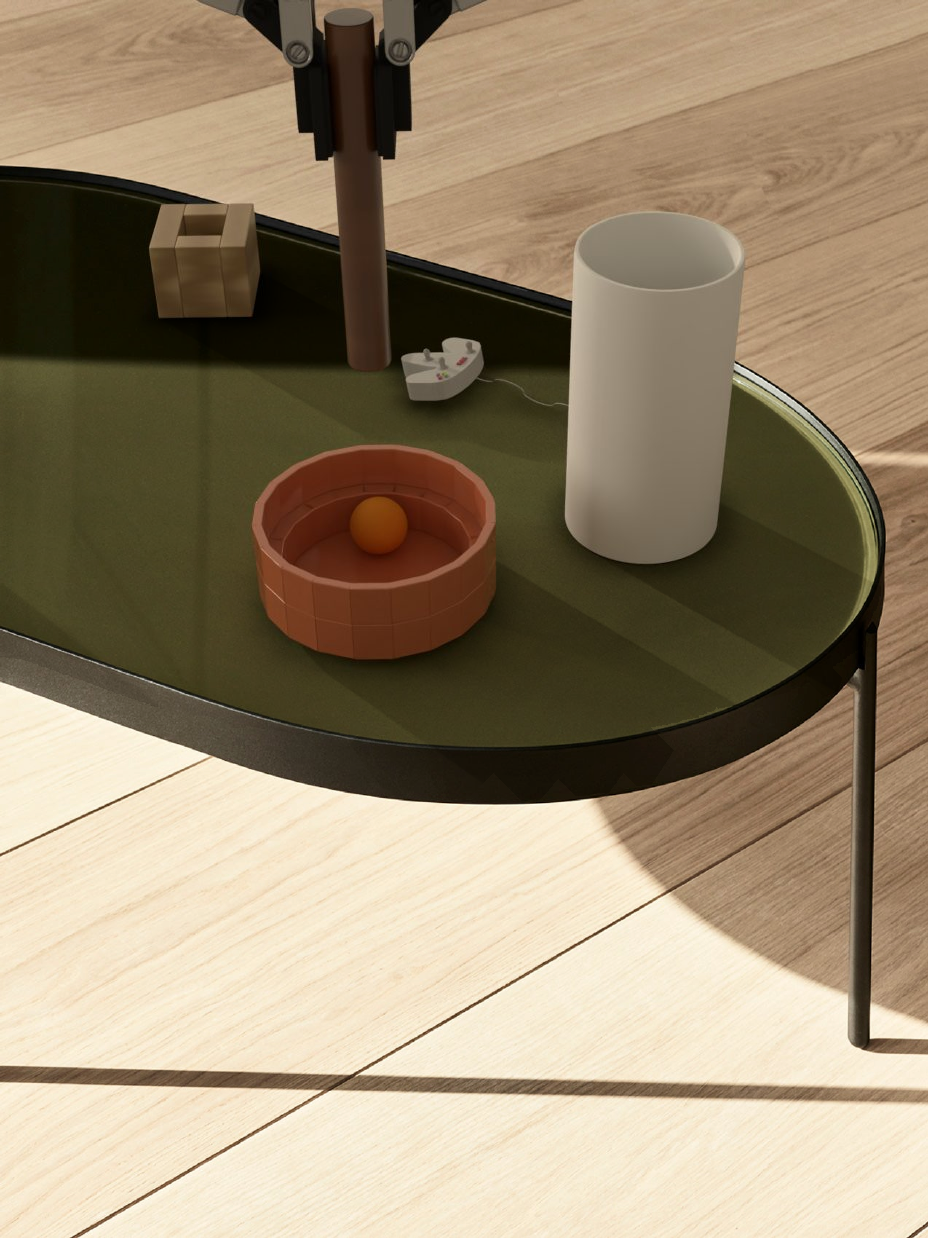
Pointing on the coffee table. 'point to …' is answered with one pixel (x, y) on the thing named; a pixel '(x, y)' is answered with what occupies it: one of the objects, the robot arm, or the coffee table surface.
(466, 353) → the game controller
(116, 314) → the coffee table surface
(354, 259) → the stick
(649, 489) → the cup
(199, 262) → the holder
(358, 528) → the ball
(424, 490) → the bowl
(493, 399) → the coffee table surface
